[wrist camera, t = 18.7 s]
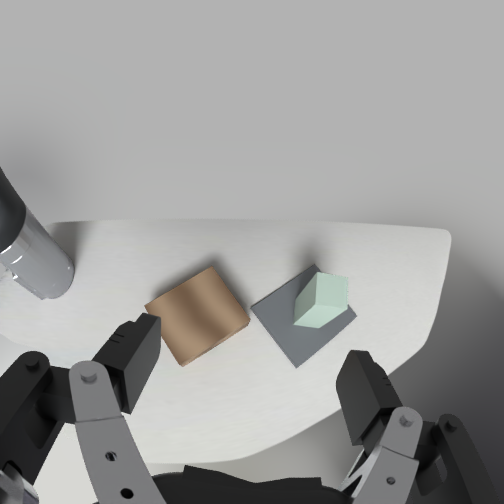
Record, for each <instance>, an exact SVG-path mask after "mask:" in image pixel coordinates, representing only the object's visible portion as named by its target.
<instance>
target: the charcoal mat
mask: <svg viewBox="0 0 504 504" xmlns="http://www.w3.org/2000/svg"><path fill="white" fill-rule="evenodd" d="M317 272H321V271H320V270H319V269H318V267H317V266H316V265H315V264H314V265H313V266H311V267H310V268H309V269H307V270H306V271H304V272H303V273H301V274H300V275H299V276H297V277H296V278H294V279H293V280H291V281H290V282H289V283H287V284H286V285H284V286H283V287H281V288H280V289H278V290H277V291H275V292H274V293H272V294H271V295H270V296H268V297H267V298H265V299H264V300H262V301H261V302H259V303H258V304H256V305H255V306H253V307H252V308H251V310H252V311H253V312H254V314H255V315H256V316H257V318H258V319H259V320H260V322H261V323H262V324H263V326H264V327H265V328H266V330H267V331H268V332H269V334H270V335H271V336H272V338H273V339H274V340H275V342H276V343H277V344H278V345H279V347H280V348H281V349H282V351H283V352H284V353H285V355H286V356H287V357H288V358H289V360H290V361H291V362H292V364H293V365H294V366H295V367H296V368H297V367H299V366H300V365H301V364H303V363H304V362H305V361H306V360H308V359H309V358H310V357H311V356H312V355H314V354H315V353H316V352H317V351H318V350H320V349H321V348H322V347H323V346H324V345H326V344H327V343H328V342H329V341H330V340H331V339H332V338H334V337H335V336H336V335H337V334H338V333H339V332H340V331H342V330H343V329H344V328H345V327H346V326H347V325H348V324H349V323H350V322H351V321H353V320H354V319H355V318H356V317H357V316H356V314H355V313H354V312H353V310H352V309H351V308H350V307H349V305H348V309H347V310H345V311H344V312H342V313H341V314H339V315H338V316H337V317H335V318H334V319H332V320H331V321H329V322H328V323H326V324H325V325H323V326H322V327H320V328H313V327H305V326H299V325H293V320H294V310H295V301H296V298H297V297H298V296H299V294H300V293H301V292H302V291H303V289H304V288H305V287H306V286H307V284H308V283H309V282H310V280H311V279H312V278H313V277H314V275H315V274H316V273H317ZM321 273H322V272H321Z"/></svg>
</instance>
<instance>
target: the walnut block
mask: <svg viewBox="0 0 504 504" xmlns="http://www.w3.org/2000/svg"><path fill="white" fill-rule="evenodd" d="M145 308H146V310H147V312H148V314H151V315H155V316H159V317H161V336H162V338H163V340H164V341H165V343H166V345H167V346H168V348H169V349H170V351H171V353H172V354H173V356H174V357H175V359H176V360H177V362H178V364H179V365H181V366H183V367H184V366H185V365H187V364H188V363H190V362H192V361H193V360H195V359H197V358H198V357H200V356H201V355H203V354H205V353H206V352H208V351H209V350H211V349H213V348H214V347H216V346H217V345H219V344H220V343H222V342H223V341H225V340H227V339H228V338H230V337H231V336H233V335H234V334H236V333H237V332H239V331H240V330H242V329H243V328H245V327H246V326H248V324H249V322H250V320H251V319H250V318H249V317H248V315H247V314H246V312H245V311H244V310H243V308H242V307H241V306H240V304H239V303H238V302H237V300H236V299H235V297H234V296H233V295H232V293H231V292H230V290H229V289H228V288H227V286H226V285H225V283H224V282H223V281H222V279H221V278H220V276H219V275H218V274H217V272H216V271H215V269H214V268H213V266H211V267H209V268H208V269H206V270H204V271H203V272H201V273H199V274H197V275H196V276H194V277H192V278H191V279H189V280H187V281H185V282H184V283H182V284H180V285H179V286H177V287H175V288H173V289H172V290H170V291H168V292H167V293H165V294H163V295H162V296H160V297H158V298H156V299H155V300H153V301H151V302H150V303H148V304H146V305H145Z"/></svg>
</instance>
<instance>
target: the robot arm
mask: <svg viewBox="0 0 504 504" xmlns="http://www.w3.org/2000/svg"><path fill="white" fill-rule="evenodd" d="M0 262H1V263H2V264H3V265H4V266H5V267H6V268H8V269H9V270H10V271H11V272H12V275H13V279H14V280H15V281H16V282H17V283H19V284H20V285H21V286H23V287H24V288H26V289H27V290H28V291H30V292H31V293H33V294H34V295H36V296H37V297H39V298H40V299H41V300H43V299H44V298H50V299H53V298H57V297H59V296H61V295H63V294H64V293H65V292H66V291H67V289H68V288H69V286H70V284H71V282H72V279H73V275H74V267H73V263H72V261H71V259H70V258H69V257H68V256H67V254H66V253H65V252H64V251H63V250H62V249H61V248H60V247H59V245H58V244H57V243H56V242H55V241H54V240H53V238H52V237H51V236H50V235H49V234H48V233H47V231H46V230H45V229H44V228H43V226H42V225H41V224H40V223H39V222H38V220H37V219H36V218H35V217H34V215H33V214H32V213H31V211H30V210H29V209H28V207H27V206H26V205H25V204H24V202H23V201H22V199H21V198H20V197H19V195H18V194H17V193H16V191H15V190H14V188H13V187H12V185H11V184H10V182H9V181H8V179H7V178H6V176H5V174H4V173H3V171H2V169H1V167H0ZM160 348H161V317H159V316H155V315H151V314H147V313H142V314H141V315H140V317H139V318H138V319H137V320H136V322H132V321H128V322H126V323H124V324H122V325H120V326H119V327H118V328H117V329H116V331H115V332H114V334H112V335H111V337H110V338H109V340H107V342H106V343H105V344H104V345H103V346H102V348H101V349H100V350H99V351H98V353H97V354H96V355H95V356H94V358H93V359H92V360H91V361H81V362H78V363H76V364H75V365H73V366H72V367H71V369H67V368H61V367H55V366H50V362H49V359H48V357H47V356H46V355H45V354H43V353H41V352H37V351H30V352H26V353H23V354H22V355H20V356H19V357H18V359H17V360H16V361H15V362H14V363H13V364H12V365H11V366H10V367H9V368H8V369H7V371H6V372H5V373H4V374H3V375H2V376H1V377H0V504H39V497H38V494H37V492H36V490H35V489H34V488H33V485H34V482H35V480H36V478H37V476H38V474H39V472H40V470H41V468H42V466H43V463H44V461H45V459H46V457H47V455H48V453H49V451H50V450H51V448H52V446H53V444H54V442H55V440H56V438H57V436H58V434H59V432H60V431H61V429H62V427H63V425H64V423H70V424H75V428H76V432H77V436H78V440H79V444H80V448H81V452H82V455H83V458H84V462H85V465H86V468H87V471H88V474H89V477H90V480H91V483H92V486H93V489H94V491H95V494H96V496H97V499H98V502H96V503H93V504H405V502H406V499H407V497H408V494H409V492H410V493H411V496H412V500H413V504H500V501H499V499H498V496H497V493H496V491H495V489H494V486H493V484H492V482H491V479H490V477H489V475H488V473H487V470H486V468H485V466H484V464H483V462H482V460H481V458H480V456H479V454H478V452H477V450H476V448H475V446H474V444H473V442H472V440H471V438H470V436H469V434H468V433H467V431H466V429H465V427H464V425H463V423H462V422H461V421H460V419H459V418H457V417H456V416H454V415H451V414H444V415H442V416H441V417H440V418H439V419H438V420H437V422H436V423H435V422H427V421H422V418H421V416H420V415H419V414H418V413H417V412H416V411H415V410H413V409H411V408H408V407H403V405H402V403H401V401H400V400H399V397H398V395H397V394H396V392H395V390H394V388H393V386H391V382H390V380H389V379H388V376H387V375H386V373H385V371H384V369H383V368H381V367H380V366H379V365H378V364H377V363H376V362H374V361H373V359H372V357H371V355H370V354H369V352H368V351H360V350H351V351H350V352H349V353H348V355H347V357H346V359H345V362H344V364H343V366H342V368H341V370H340V372H339V374H338V376H337V380H336V390H337V394H338V397H339V400H340V404H341V407H342V410H343V414H344V417H345V421H346V424H347V428H348V431H349V435H350V438H351V442H352V445H353V446H354V445H363V446H364V449H363V450H362V451H361V453H360V455H359V457H358V458H357V460H356V462H355V463H354V465H353V467H352V468H351V470H350V472H349V473H348V475H347V476H346V478H345V480H344V481H343V482H342V484H341V485H340V486H339V488H338V489H337V490H336V489H333V488H331V487H327V486H323V485H322V483H321V478H320V477H314V478H285V479H280V480H274V481H267V482H260V483H253V482H249V481H246V480H243V479H239V478H236V477H233V476H231V475H227V474H225V473H222V472H219V471H213V470H207V469H202V468H197V467H193V466H188V465H185V467H184V471H183V472H172V473H163V474H158V475H154V476H151V475H150V473H149V471H148V469H147V467H146V466H145V463H144V461H143V459H142V457H141V455H140V453H139V451H138V449H137V446H136V444H135V442H134V439H133V437H132V435H131V432H130V430H129V427H128V425H127V423H126V420H125V418H124V416H122V414H121V412H124V413H127V414H130V415H131V413H132V411H133V409H134V407H135V404H136V402H137V400H138V398H139V396H140V394H141V392H142V390H143V388H144V386H145V384H146V382H147V380H148V378H149V376H150V374H151V372H152V370H153V368H154V366H155V364H156V362H157V360H158V358H159V354H160ZM441 456H442V459H443V461H444V464H445V466H446V468H447V478H446V480H445V481H444V482H443V483H442V480H441V477H440V474H439V472H438V469H437V466H436V464H435V462H436V461H437V460H438V459H439V458H440V457H441Z"/></svg>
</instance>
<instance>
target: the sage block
mask: <svg viewBox="0 0 504 504" xmlns="http://www.w3.org/2000/svg"><path fill="white" fill-rule="evenodd" d="M347 309H348V277H343V276H337V275H332V274H326V273H321V272H317V273H316V274H315V275H314V277H313V278H312V279H311V280H310V282H309V283H308V284H307V286H306V287H305V288H304V289H303V291H302V292H301V293H300V294H299V296H298V297H297V298H296V301H295V310H294V320H293V325H299V326H305V327H313V328H320V327H322V326H323V325H325V324H326V323H328V322H329V321H331V320H332V319H334V318H335V317H337V316H338V315H339V314H341V313H342V312H344V311H345V310H347Z"/></svg>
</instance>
